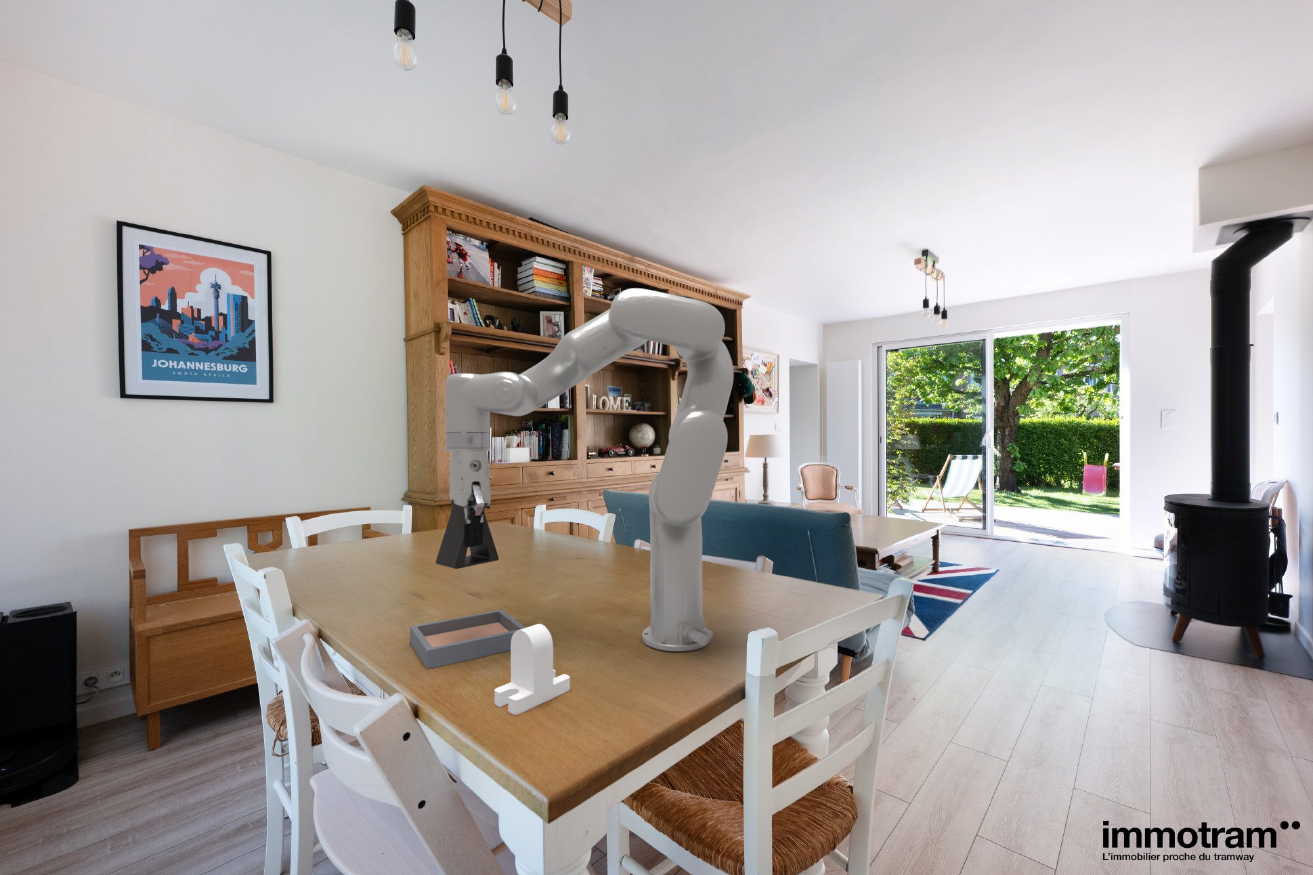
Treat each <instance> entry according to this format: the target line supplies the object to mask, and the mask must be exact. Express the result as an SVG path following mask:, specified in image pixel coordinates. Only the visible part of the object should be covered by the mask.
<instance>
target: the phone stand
mask: <svg viewBox="0 0 1313 875" xmlns="http://www.w3.org/2000/svg"><path fill="white" fill-rule="evenodd" d="M467 501H468V499H467ZM472 502H473V501H471V502H469V504H468V505H474V504H472ZM484 505H485V503H484ZM450 506H451V508H450V510H451V511H450V515H449V518H448V522H447V525H446V528H445V531H444V534H443V536H442V540H441V544H440V547H439V550H438V553H437V556H436V560H435V564H436V565H439V566H442V567H446V568H450V569H454V570H458V569H463V568H467V567H473V566H477V565H482V564H487V563H493V562H497V561H499V559H500V557H499V554H498V550H497V548H496V545H495V542H494V539H493V536H492V532H491V530H490V526H489V522H488V520H487V516H486V513H485V507H486V506H484V509H483V545H481V546H473V547H465V546H464V524H466V520H465V511H464V507H461V506H458V505H456V504H454V501H453V499H452V500H450ZM471 511H472V510H469V512H470V514H471ZM468 548H469V552H470V555H467V554H468Z"/></svg>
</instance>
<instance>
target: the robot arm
mask: <svg viewBox="0 0 1313 875" xmlns="http://www.w3.org/2000/svg"><path fill="white" fill-rule="evenodd" d="M725 325H726V324H725V319H724V316H723V315H722V313H721V312H720V311H719V310H718V309H717V308H716V307H715V306H713V305H712V304H710V303H708V302H705V301H701V300H700V299H699V300H697V299H694V298H689V297H683V296H681V295H675V294H670V293H666V292H661V291H657V290H651V289H647V288H640V287H639V288H638V287H635V288H634V287H633V288H632V287H631V288H627V289H625V290H622V291H621V292H619V293H618V294H617V295H615V297H614V299H613V300H612V302H611V305H610V308H609V309H608V310H607V309H606V310H604V312H602V313H600V314H599V315H597V316H595V317H594V318H592V319H590V320H589V321H586V322H585V323H582V324H581V325H580V326H578V327H576V328H574V329H572V330H570V331H568V333H566V334H565V335H564V336H562V337H561V339H560V340H559V341H558V343H557V345H556V346H555V348H554V349H553V350H552V351H551V352H550V354H549V355H548V356H546V357H545V358H544V359H543V360H541V361H540V362H538V363H537V364H535V365H533V366H532V367H530V368H528V369H527V370H525V371H523V372H522V373H519V374H518V373H515V372H511V371H499V372H492V373H484V374H483V373H482V374H478V373H470V372H469V373H466V372H465V373H463V372H462V373H453V374H450V375H448V377H447V378H446V380H445V452H450V459H449V460H450V461H449V500H450V501H451V500H452V499H453V501H454V504H456V505H458V506H461V507H464V511H465V520H466V524H464V546H465V547H468V548H469V547H473V546H481V545H483V509H484V510H485V507H489V505H490V504H491V501H492V500H491V497H492V496H491V480H490V479H491V477H490V475H491V474H490V462H489V457H488V456H489V454H488V452H490V450H491V449H490V448H491V447H490V440H491V439H490V435H491V434H490V431H491V430H490V429H491V428H490V426H491V424H490V422H491V421H490V420H491V416H490V415H491V413H494V414H495V413H496V414H502V415H506V416H513V417H522V416H525V415H528V414H531V413H532V412H533V411H535V410H537V409H539V408H541V407H543V406H544V405H546V404H547V403H549V402H551V401H553V400H554V399H556V398H557V397H559V396H561V395H563V394H564V393H566V392H567V391H568V390H570V389H572V388H573V387H575V386H577V385H578V384H580V383H582V382H583V381H584V380H586V379H588V377H590V376H592V375H593V374H595V373H596V372H599V371H600V370H601V369H603V368H605V367H606V366H608V365H610V364H612V363H613V362H615V361H617V360H619V359H620V358H622V357H623V356H625V355H627V354H629V353H630V352H632V351H633V350H634V351H635V350H636V349H638V348H640V347H641V346H642V345H645V344H646V343H647V342H648V341H650V342H652V343H653V342H654V343H658V344H661V345H662V344H663V345H667V346H672V347H674V350H675V351H676V352H677V353H678V355H679V356H680V357H681V358H682V359H683V360H684V362H685V364H686V368H687V374H686V375H687V376H686V381H685V384H684V387H683V390H682V396H681V398H680V401H679V403H678V408H677V410H676V413H675V417H674V419H673V421H672V422H671V425H670V427H669V431H668V444H667V447H666V451H665V454H664V457H663V460H662V463H661V466H660V470H659V471H658V473H656V475H655V476H654V477H653V479H652V481H651V483H650V487H649V490H648V491H649V492H648V504H649V531H650V532H649V535H650V536H649V537H650V539H649V544H650V545H649V546H650V554H649V561H650V562H649V569H650V570H649V578H650V579H649V580H650V584H649V585H650V591H649V592H650V594H649V595H650V596H649V597H650V598H649V599H650V601H649V602H650V625H649V626H647V627H646V628H645V629H644V630H643V631H642V633H641V640H642V642H643V643H644V644H645V645H646V646H648V647H651V648H652V649H656V650H659V651H667V652H688V651H694V650H699V649H701V648H704V647H706V646H707V645H709V644H710V642H711V640H712V638H713V636H714V632H713V631H711V630H710V629H708V628H707V627H706V618H704V617H703V527H702V526H703V525H702V516H703V515H704V514H705V513H706V511H707V509H708V507H709V504H710V502H711V498H712V496H713V492H714V489H715V486H716V483H717V481H718V477H719V474H720V470H721V467H722V465H723V461H724V457H725V454H726V450H727V447H728V446H727V445H728V439H729V438H728V437H729V436H728V429H727V427H726V424H725V422H724V418H725V415H726V412H727V409H728V408H727V407H728V403H729V400H730V396H731V393H732V392H731V391H732V389H733V384H734V372H735V371H734V365H733V360H732V358H731V355H730V352H729V350H728V347H727V346H726V344H725V343H724V342H723V337H724V335H725V329H726V326H725ZM467 499H468V501H467ZM471 501H473V502H472V504H474V505H468V504H469V502H471ZM484 503H485V505H484ZM484 506H485V507H484ZM469 510H472V511H471V514H470V512H469Z"/></svg>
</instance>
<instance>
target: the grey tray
mask: <svg viewBox="0 0 1313 875" xmlns="http://www.w3.org/2000/svg"><path fill="white" fill-rule="evenodd" d="M524 628H527V627H526V626H525V625H524V624H522V623H520V622H519V621H518V620H517V619H515V618H514V617H513V616H512V615H510V614H509V613H507V612H506V611H505V610H504V609H497V610H492V611H486V612H481V613H476V614H469V615H465V616H460V617H454V618H448V619H443V620H437V621H432V622H427V623H421V624H414V625H410V626H409V644H410V645H411V647H412V648H413V649H414V651H415V653H416V654H417V656H418V657H419V659H420V660H421V662H422V663H423V665H424V666H425V668H426V670H431V669H435V668H440V667H443V666H444V667H445V666H448V665H451V664H456V663H460V662H461V663H462V662H466V661H470V660H474V659H478V658H483V657H488V656H492V655H496V654H501V653H505V652H511V639H512V636H513V634H514V633H515V632H516V631H518V630H521V629H524Z"/></svg>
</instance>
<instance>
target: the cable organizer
mask: <svg viewBox="0 0 1313 875" xmlns="http://www.w3.org/2000/svg"><path fill="white" fill-rule="evenodd" d="M556 673H557V671H556V669H554V642H553V637H552V634H551V632H550V630H548V628H547V627H546V626H545V625H544V624H542V623H537V624H536V623H535V624H533V625H530V626H528V627H526V628H524V629H521V630H518V631H516V632H515V633H514V634H513V636H512V639H511V650H510V682H508V683H505V684H504V685H500V686H498V687H496V688H494V705H495V706H497V707H498V708H501V707H503V706H506V705H507V712H508V713H510V714H512V715H515V716H516V715H520V714H522V713H524V712H526V711H529V710H530V709H533V708H535V707H537V706H539V705H542V704H544V703H545V702H548V701H549V700H552V699H554V698H556V697H559V696H561V695H562V694H565V693H567V692H569V691H570V690H571V680H570V679H571V676H570V675H568V674H565V673H563V674H561V675H558V676H556Z"/></svg>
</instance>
